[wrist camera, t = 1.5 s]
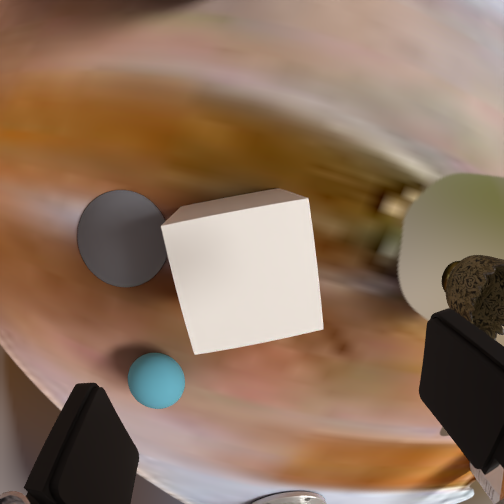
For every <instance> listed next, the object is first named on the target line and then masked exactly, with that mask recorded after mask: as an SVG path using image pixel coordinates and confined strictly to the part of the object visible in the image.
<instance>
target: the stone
mask: <svg viewBox="0 0 504 504" xmlns="http://www.w3.org/2000/svg"><path fill="white" fill-rule="evenodd" d="M442 287H443V289H444V291H445V292H446V299H447V303H448V305H449V308H450V309H452V310H454V311H455V312H457V313H458V314H460V315H461V316H462V317H464V318H465V319H467V320H468V321H469V322H471V323H472V324H474V325H475V326H476V327H478V328H479V329H481V330H482V331H483V332H485V333H486V334H487V335H489V336H490V337H491V338H493V339H494V340H496V336H497V333H498V334H501V335H504V330H503V328H502V326H504V260H502V259H498V258H494V257H489V256H483V255H473V256H469V257H467V258H464V259H463V260H461V261H455V262H453V263H451V264H450V265H448V266H447V268H446V269H445V271H444V273H443V276H442Z"/></svg>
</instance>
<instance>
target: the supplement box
mask: <svg viewBox="0 0 504 504" xmlns="http://www.w3.org/2000/svg"><path fill="white" fill-rule="evenodd" d="M470 471H471V472H472V474H473V475H474V476H475V478H476V479H477V481H478V482H479V483H480V485H481V486H482V487H483V489H484V490H485V492H486V493H487V495H488V496H489V498H490V499H491V500H492V502H493V503H494V504H496V503H497V502H499V500H500V494H501V487H502V480H503V471H504V469H503V467H502V466H501V465H499V466H498V467H497V468H495V469H494V470H492V471H491V472H489V473H488V474H486V475H484V473H483V472H482V471H481V469H476V468H474V467H473V465H472V464H471V463H470Z"/></svg>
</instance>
